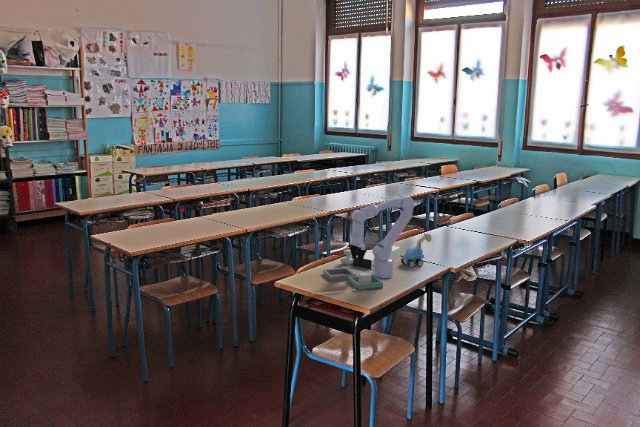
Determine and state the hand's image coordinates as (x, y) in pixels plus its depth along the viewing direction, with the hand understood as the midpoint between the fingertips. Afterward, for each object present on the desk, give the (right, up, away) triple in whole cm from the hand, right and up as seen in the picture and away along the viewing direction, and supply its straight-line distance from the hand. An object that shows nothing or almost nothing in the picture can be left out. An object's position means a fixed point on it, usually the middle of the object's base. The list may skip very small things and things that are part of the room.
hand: (357, 260), depth 282 cm
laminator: (+14, -4, +32) cm, 35 cm away
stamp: (-3, -5, +26) cm, 26 cm away
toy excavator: (+35, -5, +26) cm, 44 cm away
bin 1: (-9, -9, +2) cm, 13 cm away
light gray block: (+3, -11, -10) cm, 15 cm away
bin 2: (+3, -11, -9) cm, 15 cm away
